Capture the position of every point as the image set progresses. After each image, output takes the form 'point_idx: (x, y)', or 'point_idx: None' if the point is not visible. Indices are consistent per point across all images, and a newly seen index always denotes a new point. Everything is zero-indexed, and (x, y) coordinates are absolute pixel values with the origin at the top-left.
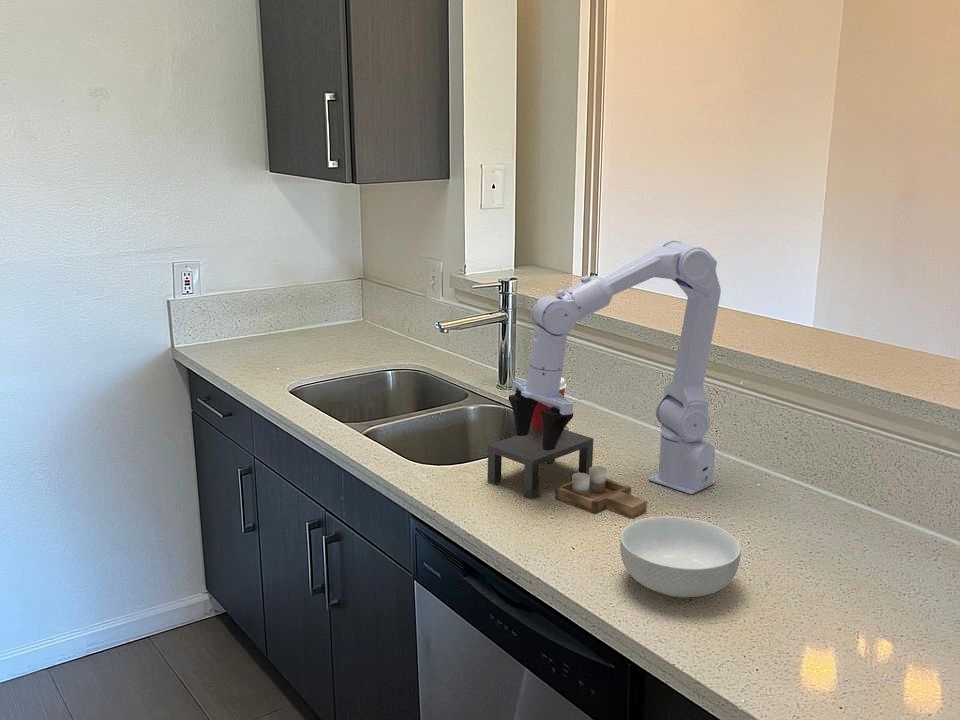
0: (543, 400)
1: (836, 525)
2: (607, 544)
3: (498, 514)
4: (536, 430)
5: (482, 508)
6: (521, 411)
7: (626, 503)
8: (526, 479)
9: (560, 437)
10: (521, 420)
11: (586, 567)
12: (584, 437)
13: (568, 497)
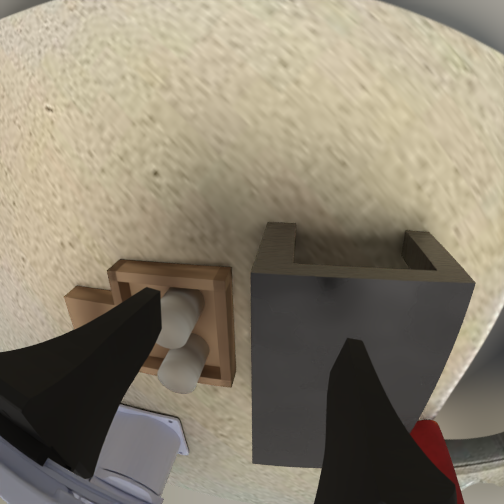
0: (21, 489)
1: None
2: (31, 171)
3: (262, 86)
4: None
5: (323, 84)
6: (352, 450)
7: (80, 305)
8: (284, 241)
9: (319, 442)
10: (348, 406)
11: (9, 85)
12: (272, 461)
13: (184, 271)
